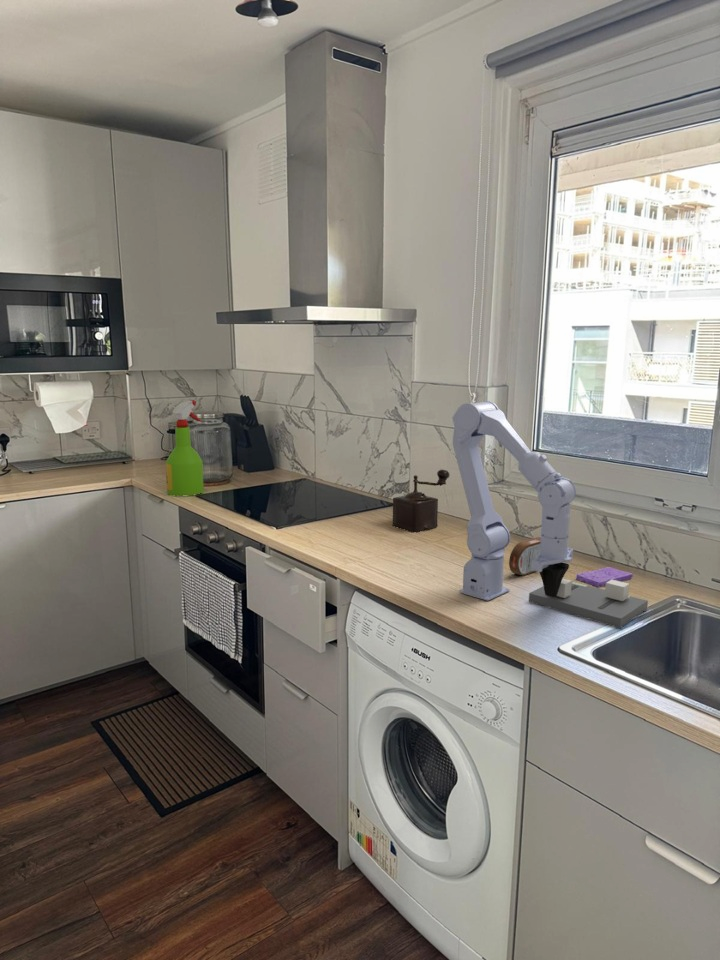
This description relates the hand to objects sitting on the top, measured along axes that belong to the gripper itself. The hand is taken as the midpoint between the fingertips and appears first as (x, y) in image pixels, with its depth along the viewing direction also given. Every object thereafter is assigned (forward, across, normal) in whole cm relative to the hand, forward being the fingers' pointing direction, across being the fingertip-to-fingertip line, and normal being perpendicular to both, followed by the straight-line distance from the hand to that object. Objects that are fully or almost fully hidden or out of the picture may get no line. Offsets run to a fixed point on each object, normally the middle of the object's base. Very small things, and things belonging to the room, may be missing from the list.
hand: (550, 595), depth 151 cm
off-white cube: (+1, +4, 0) cm, 4 cm away
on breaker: (+1, +11, -10) cm, 15 cm away
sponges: (+4, +27, 0) cm, 28 cm away
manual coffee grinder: (+3, +35, +64) cm, 73 cm away
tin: (+3, +19, +16) cm, 25 cm away
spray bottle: (+3, +12, +160) cm, 160 cm away
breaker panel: (+3, +7, -5) cm, 9 cm away
